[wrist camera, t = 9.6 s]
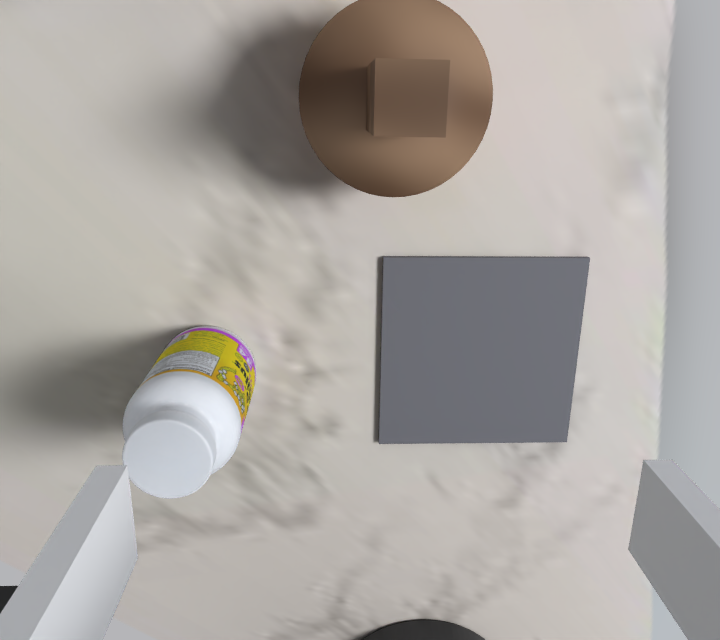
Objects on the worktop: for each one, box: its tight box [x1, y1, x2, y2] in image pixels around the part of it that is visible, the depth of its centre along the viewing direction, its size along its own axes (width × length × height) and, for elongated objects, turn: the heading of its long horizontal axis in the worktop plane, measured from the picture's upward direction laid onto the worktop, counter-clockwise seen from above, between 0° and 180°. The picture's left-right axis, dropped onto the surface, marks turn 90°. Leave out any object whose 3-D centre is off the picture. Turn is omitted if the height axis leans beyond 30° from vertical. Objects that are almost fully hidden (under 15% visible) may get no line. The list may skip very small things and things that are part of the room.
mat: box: [379, 256, 590, 444], centre depth 46 cm, size 14×14×1 cm
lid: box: [299, 0, 493, 197], centre depth 32 cm, size 10×10×8 cm
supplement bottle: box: [122, 326, 256, 498], centre depth 40 cm, size 7×7×13 cm
